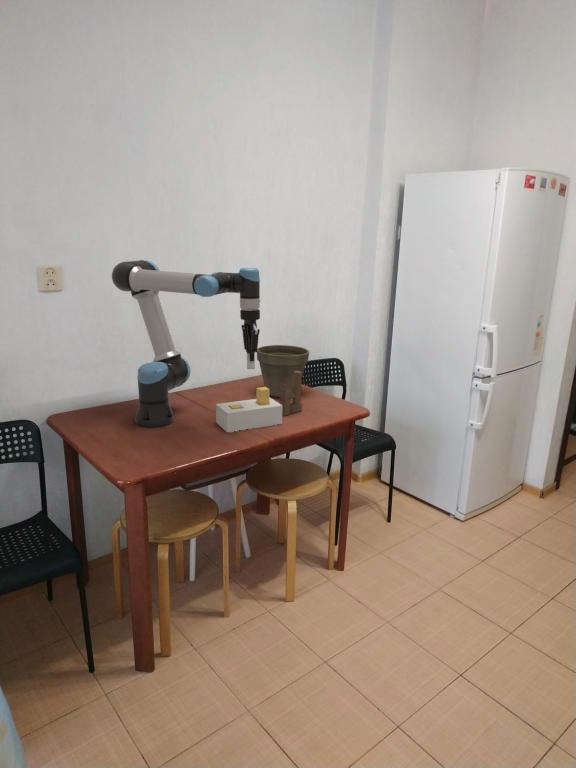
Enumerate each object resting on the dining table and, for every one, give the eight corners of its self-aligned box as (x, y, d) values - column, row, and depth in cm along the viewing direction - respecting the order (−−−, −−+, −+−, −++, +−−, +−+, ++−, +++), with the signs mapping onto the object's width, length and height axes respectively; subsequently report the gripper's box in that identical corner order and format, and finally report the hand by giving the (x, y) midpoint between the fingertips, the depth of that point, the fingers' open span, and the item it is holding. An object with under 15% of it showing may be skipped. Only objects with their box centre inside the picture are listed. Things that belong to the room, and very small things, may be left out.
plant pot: (288, 383, 277) (289, 342, 271) (317, 396, 257) (319, 352, 251) (246, 390, 263) (247, 347, 257) (273, 404, 244) (275, 357, 238)
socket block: (227, 432, 208) (227, 413, 206) (216, 422, 218) (216, 404, 216) (281, 423, 219) (282, 405, 217) (268, 414, 230) (269, 397, 227)
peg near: (232, 426, 213) (233, 408, 211) (229, 422, 217) (229, 405, 215) (242, 424, 215) (242, 407, 213) (238, 421, 219) (238, 404, 216)
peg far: (260, 408, 217) (260, 390, 215) (256, 405, 221) (256, 387, 218) (269, 406, 219) (269, 389, 217) (264, 404, 222) (265, 386, 220)
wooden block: (278, 414, 231) (279, 373, 226) (296, 409, 238) (297, 369, 233) (284, 416, 228) (285, 375, 223) (302, 411, 236) (303, 371, 231)
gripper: (265, 310, 201) (266, 371, 208) (252, 306, 213) (253, 364, 219) (247, 311, 198) (248, 373, 205) (234, 307, 209) (236, 366, 216)
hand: (250, 368), depth 212 cm, fingers closed
